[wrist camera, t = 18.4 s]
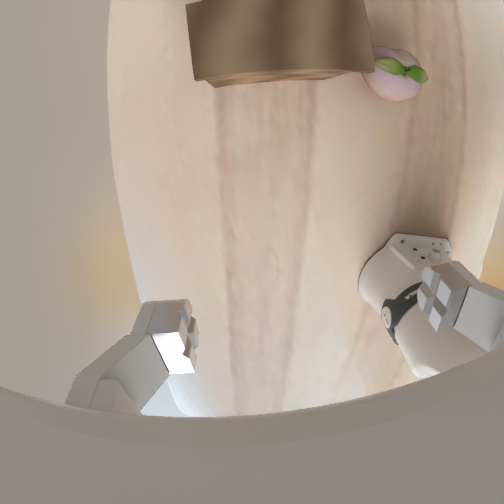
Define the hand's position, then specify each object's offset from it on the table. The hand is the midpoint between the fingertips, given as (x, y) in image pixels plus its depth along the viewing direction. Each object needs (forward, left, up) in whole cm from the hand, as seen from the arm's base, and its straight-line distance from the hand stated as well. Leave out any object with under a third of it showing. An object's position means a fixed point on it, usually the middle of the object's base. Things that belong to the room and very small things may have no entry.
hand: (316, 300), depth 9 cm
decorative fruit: (-20, -11, -35) cm, 42 cm away
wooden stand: (-3, -20, -35) cm, 41 cm away
